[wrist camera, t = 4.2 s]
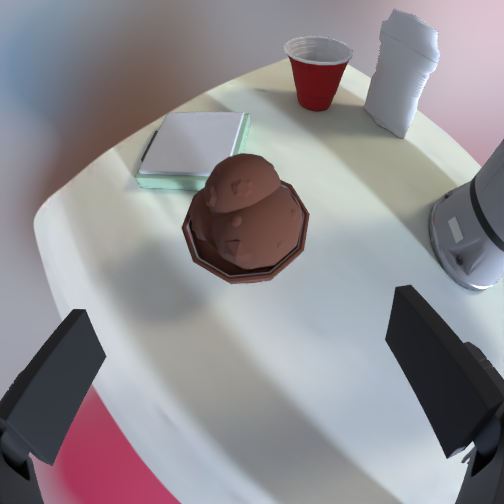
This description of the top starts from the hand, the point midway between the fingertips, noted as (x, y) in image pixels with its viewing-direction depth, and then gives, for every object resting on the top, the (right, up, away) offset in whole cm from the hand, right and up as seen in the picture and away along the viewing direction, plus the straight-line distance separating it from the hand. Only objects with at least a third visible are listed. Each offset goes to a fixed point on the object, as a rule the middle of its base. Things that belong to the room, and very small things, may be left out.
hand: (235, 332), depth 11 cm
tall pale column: (+24, +26, +31) cm, 47 cm away
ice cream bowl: (+1, +2, +22) cm, 22 cm away
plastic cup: (+12, +30, +33) cm, 46 cm away
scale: (-8, +18, +29) cm, 35 cm away
